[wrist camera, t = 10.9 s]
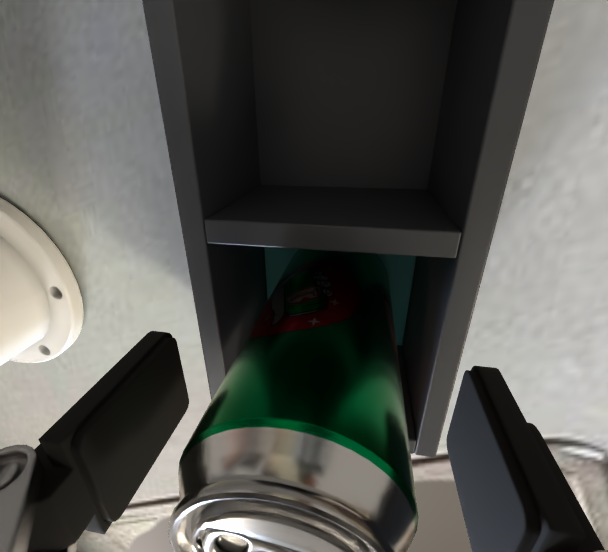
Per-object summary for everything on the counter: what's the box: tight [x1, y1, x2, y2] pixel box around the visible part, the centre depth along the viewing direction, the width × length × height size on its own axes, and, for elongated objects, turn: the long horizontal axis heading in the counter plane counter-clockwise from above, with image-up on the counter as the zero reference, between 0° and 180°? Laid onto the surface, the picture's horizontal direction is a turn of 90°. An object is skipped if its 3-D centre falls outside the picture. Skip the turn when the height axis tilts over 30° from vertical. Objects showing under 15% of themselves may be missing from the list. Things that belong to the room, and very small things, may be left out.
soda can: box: [168, 249, 418, 552], centre depth 11 cm, size 5×5×12 cm
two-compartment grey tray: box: [142, 0, 554, 457], centre depth 12 cm, size 9×17×7 cm, turn 0°
